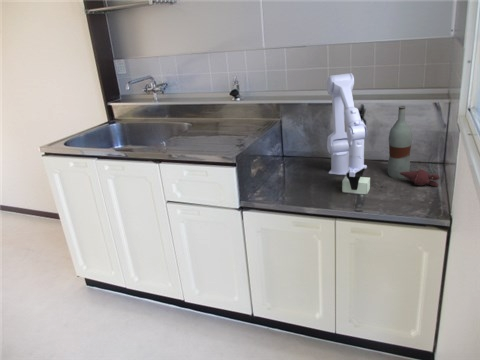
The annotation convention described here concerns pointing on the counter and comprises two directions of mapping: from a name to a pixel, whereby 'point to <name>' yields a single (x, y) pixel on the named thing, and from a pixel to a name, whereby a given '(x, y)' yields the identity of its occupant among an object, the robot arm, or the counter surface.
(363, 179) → the pale green block
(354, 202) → the counter surface
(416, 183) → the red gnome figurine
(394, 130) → the bottle
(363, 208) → the counter surface
